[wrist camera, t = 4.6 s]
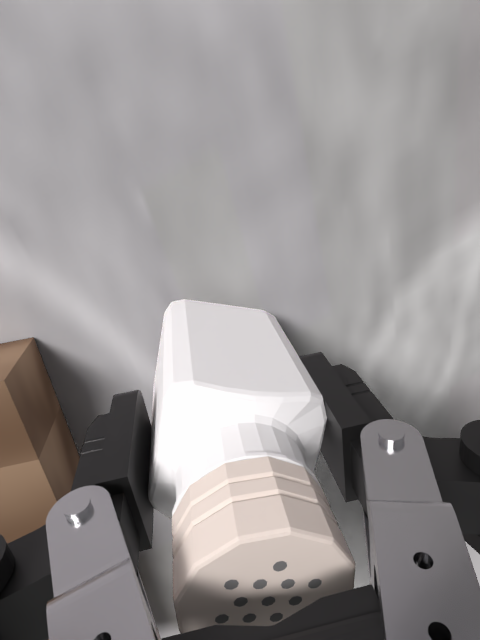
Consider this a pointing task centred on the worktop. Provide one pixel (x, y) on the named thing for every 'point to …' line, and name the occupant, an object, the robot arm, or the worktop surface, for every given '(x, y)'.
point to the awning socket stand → (30, 442)
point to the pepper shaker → (240, 470)
